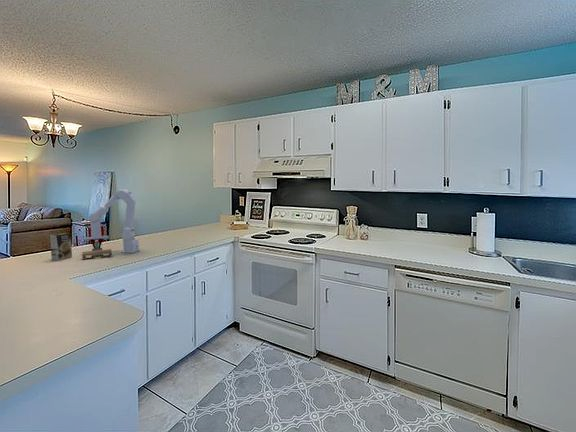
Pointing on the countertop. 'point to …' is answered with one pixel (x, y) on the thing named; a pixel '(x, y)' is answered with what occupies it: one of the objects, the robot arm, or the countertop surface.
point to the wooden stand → (96, 253)
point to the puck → (97, 257)
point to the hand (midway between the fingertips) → (97, 249)
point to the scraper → (97, 249)
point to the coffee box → (61, 246)
